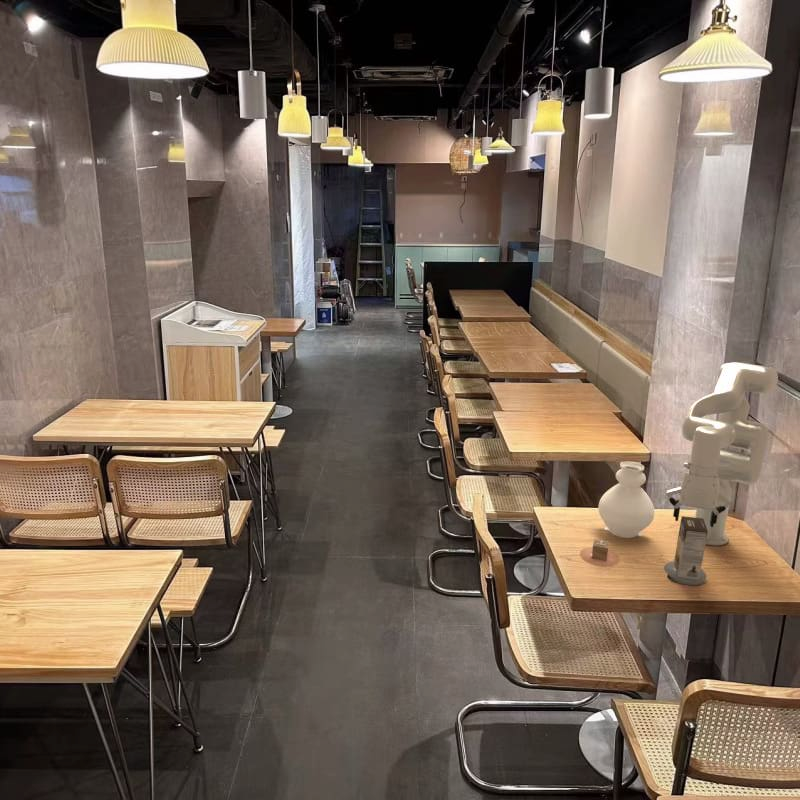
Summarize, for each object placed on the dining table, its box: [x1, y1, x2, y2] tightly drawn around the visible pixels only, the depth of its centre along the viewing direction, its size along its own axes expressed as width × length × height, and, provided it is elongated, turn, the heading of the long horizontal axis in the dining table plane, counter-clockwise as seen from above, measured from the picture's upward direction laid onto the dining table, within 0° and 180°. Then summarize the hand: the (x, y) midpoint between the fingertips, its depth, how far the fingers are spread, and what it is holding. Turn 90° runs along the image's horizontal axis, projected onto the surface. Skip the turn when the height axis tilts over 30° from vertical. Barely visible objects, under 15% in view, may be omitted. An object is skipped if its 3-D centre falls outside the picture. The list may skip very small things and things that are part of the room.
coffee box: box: [673, 515, 708, 580], centre depth 208 cm, size 9×6×16 cm
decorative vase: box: [597, 461, 655, 539], centre depth 231 cm, size 18×18×25 cm
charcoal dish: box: [663, 561, 707, 587], centre depth 210 cm, size 12×12×1 cm
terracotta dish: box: [579, 546, 620, 567], centre depth 217 cm, size 12×12×1 cm
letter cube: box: [592, 538, 610, 561], centre depth 216 cm, size 4×4×5 cm
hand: (693, 522), depth 206 cm, fingers open, 9 cm apart
